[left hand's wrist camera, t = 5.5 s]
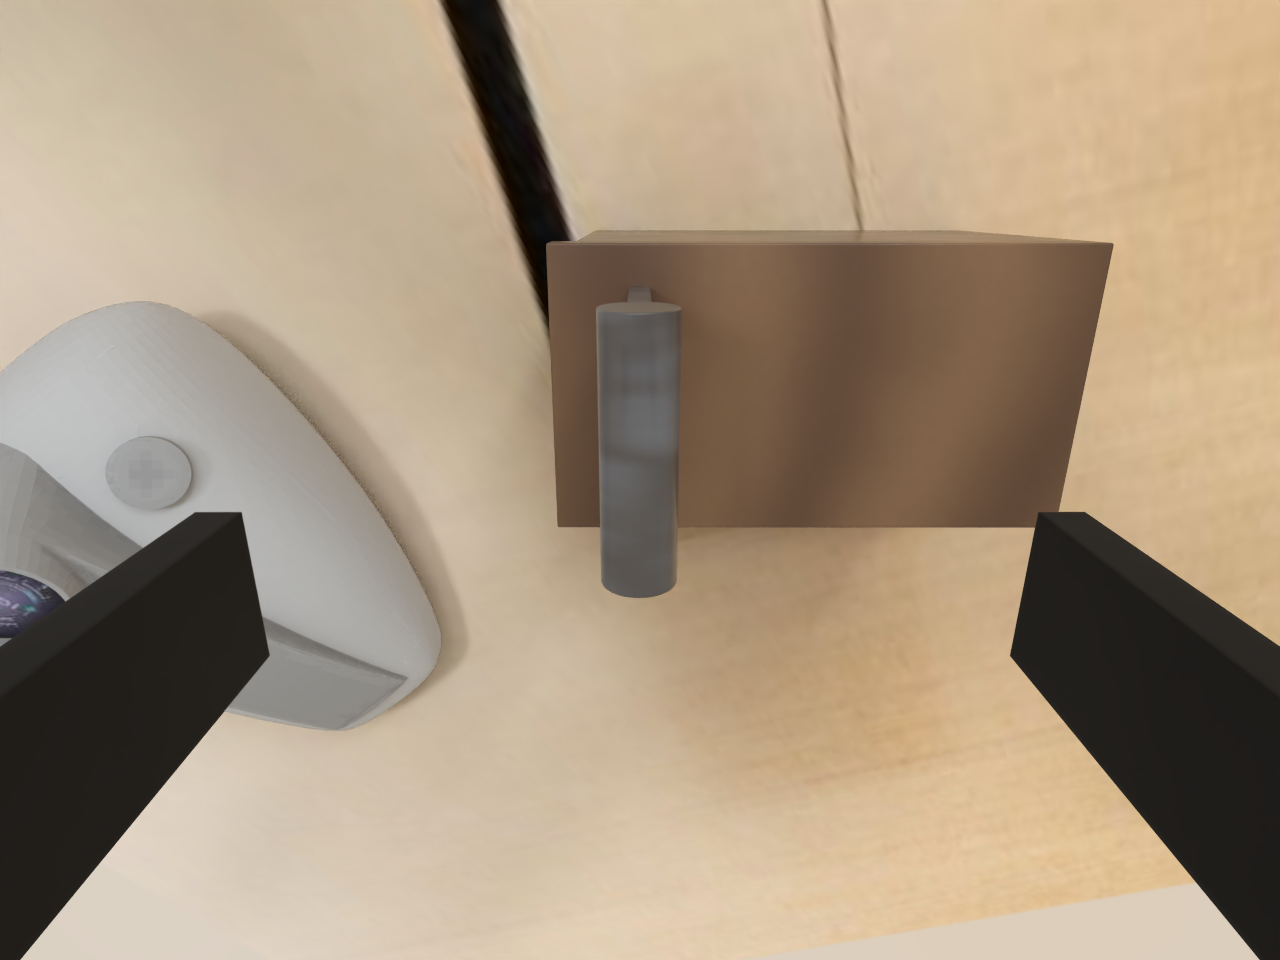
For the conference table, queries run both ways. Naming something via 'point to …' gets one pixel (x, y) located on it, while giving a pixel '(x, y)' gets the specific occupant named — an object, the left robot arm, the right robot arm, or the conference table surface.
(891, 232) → the chest
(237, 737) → the conference table surface
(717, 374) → the lid
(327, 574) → the projector
